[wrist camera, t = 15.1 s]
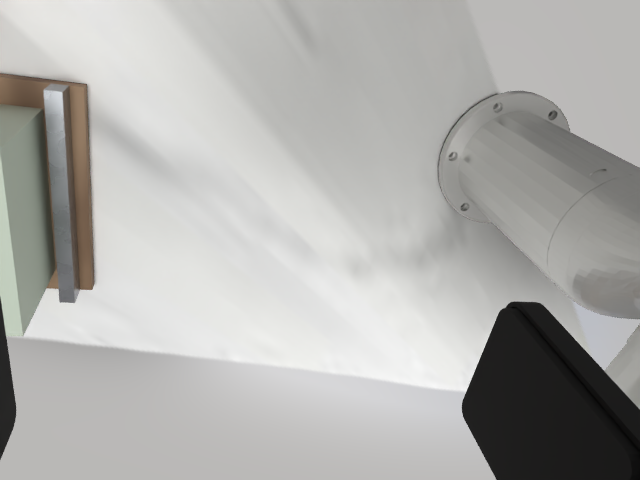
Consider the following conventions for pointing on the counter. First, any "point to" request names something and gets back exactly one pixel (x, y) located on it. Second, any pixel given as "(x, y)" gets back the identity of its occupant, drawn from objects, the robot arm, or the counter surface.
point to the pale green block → (23, 216)
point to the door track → (63, 174)
